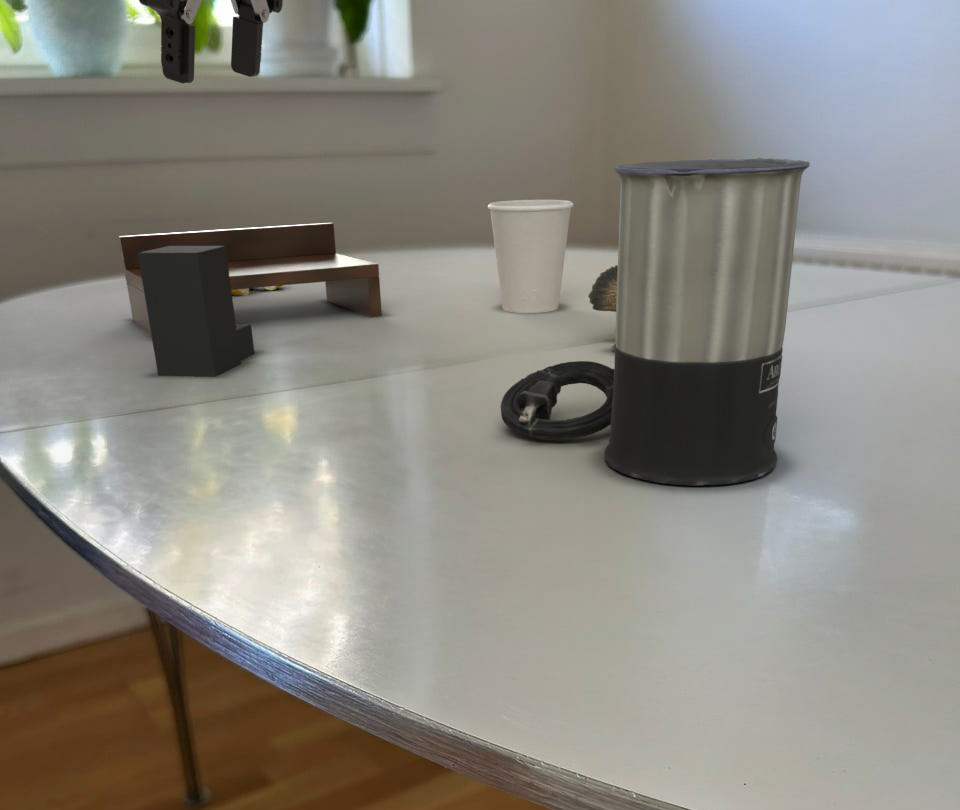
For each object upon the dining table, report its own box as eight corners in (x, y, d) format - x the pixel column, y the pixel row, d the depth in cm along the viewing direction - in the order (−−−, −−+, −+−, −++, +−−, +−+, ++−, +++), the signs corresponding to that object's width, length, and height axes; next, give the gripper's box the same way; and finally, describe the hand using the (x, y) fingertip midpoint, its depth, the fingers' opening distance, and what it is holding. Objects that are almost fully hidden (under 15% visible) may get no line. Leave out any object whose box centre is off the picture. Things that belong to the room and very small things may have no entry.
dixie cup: (574, 314, 98) (576, 204, 93) (489, 316, 98) (487, 206, 94) (568, 301, 105) (570, 198, 101) (490, 303, 106) (488, 200, 101)
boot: (215, 378, 76) (197, 252, 72) (158, 376, 77) (137, 252, 73) (261, 354, 84) (247, 240, 80) (209, 353, 85) (192, 240, 81)
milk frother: (784, 493, 49) (824, 162, 43) (471, 483, 52) (462, 169, 45) (762, 419, 62) (791, 154, 55) (511, 414, 64) (509, 160, 58)
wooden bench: (159, 340, 91) (143, 247, 87) (133, 320, 101) (118, 236, 98) (382, 316, 100) (376, 230, 96) (337, 300, 110) (330, 222, 106)
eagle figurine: (597, 319, 89) (565, 315, 81) (647, 248, 85) (619, 237, 77) (663, 372, 88) (637, 374, 80) (716, 302, 84) (695, 296, 76)
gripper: (235, -192, 72) (225, 60, 81) (102, -229, 61) (108, 68, 70) (326, -170, 70) (304, 85, 80) (206, -204, 59) (197, 97, 69)
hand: (212, 77), depth 75 cm, fingers open, 8 cm apart
